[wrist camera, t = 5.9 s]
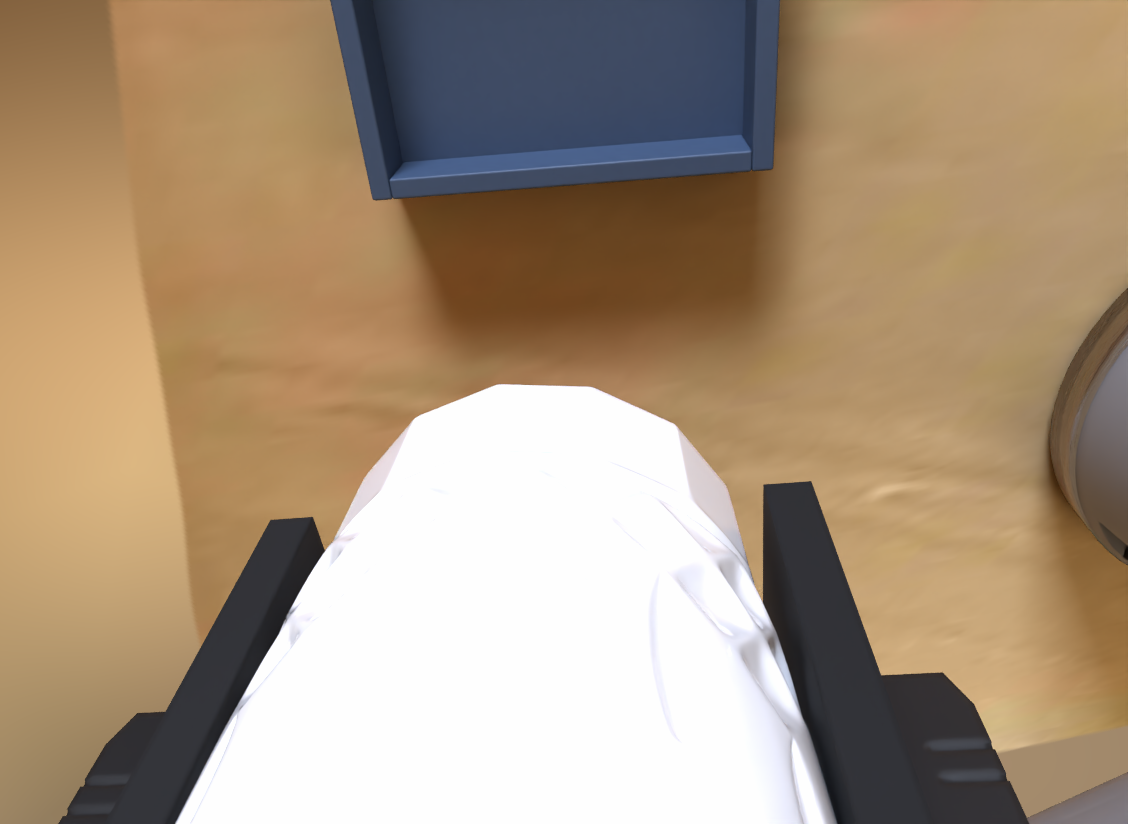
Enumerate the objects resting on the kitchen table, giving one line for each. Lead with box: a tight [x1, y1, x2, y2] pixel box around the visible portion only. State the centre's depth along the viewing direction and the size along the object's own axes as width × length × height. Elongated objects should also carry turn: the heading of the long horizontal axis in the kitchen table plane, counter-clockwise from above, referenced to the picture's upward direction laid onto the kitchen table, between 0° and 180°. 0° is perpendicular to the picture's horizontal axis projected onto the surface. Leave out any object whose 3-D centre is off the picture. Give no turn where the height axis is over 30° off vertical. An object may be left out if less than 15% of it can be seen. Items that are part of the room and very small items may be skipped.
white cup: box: [175, 384, 838, 824], centre depth 11 cm, size 8×8×10 cm
